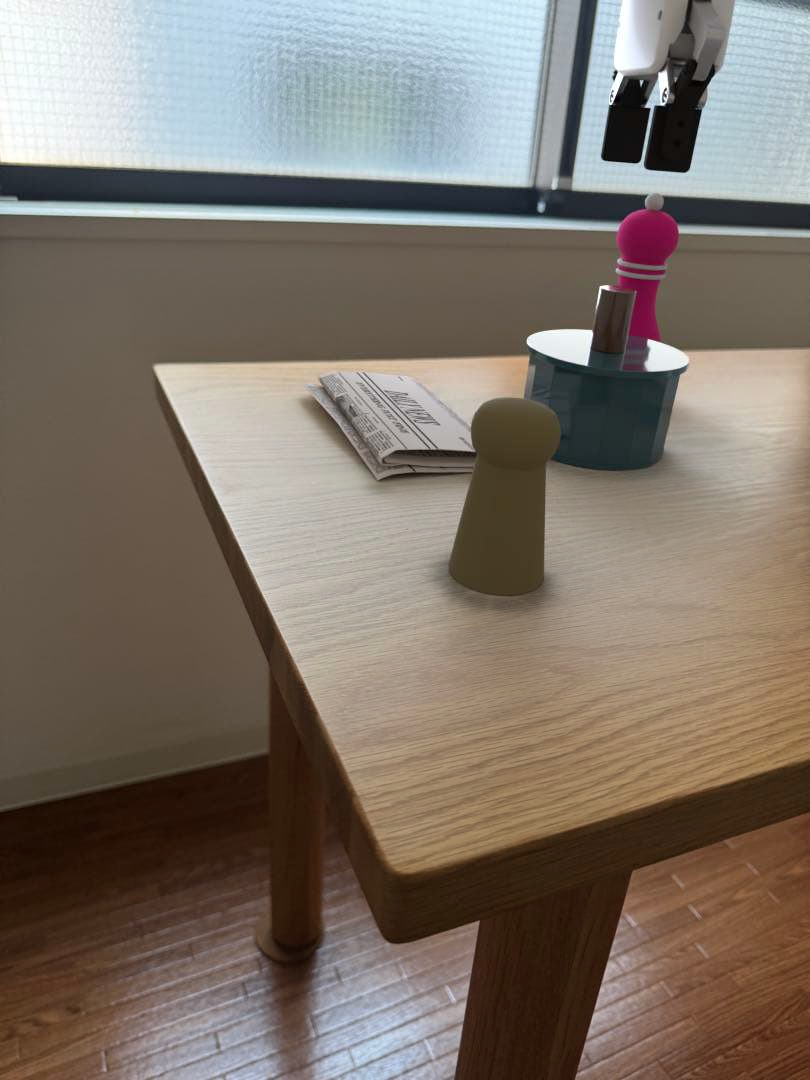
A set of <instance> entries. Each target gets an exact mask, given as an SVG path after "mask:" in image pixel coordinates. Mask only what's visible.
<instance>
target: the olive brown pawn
mask: <svg viewBox="0 0 810 1080" xmlns="http://www.w3.org/2000/svg"><path fill="white" fill-rule="evenodd" d="M470 427H471V440H472V446H473V448H474V450H475V451H476V453H477V457H476V461H475V465H474V469H473V472H471V477H470V480H469V484H468V488H467V492H466V495H465V500H464V503H463V507H462V511H461V514H460V519H459V522H458V527H457V529H456V534H455V536H454V542H453V546H452V549H451V552H450V557H449V560H448V572H449V573H450V575H451V576H452V578H453V579H455V581H457V582H458V583H459V584H460V585H462V586H464V587H467V588H469V589H472V590H474V591H475V592H480V593H484V594H488V595H496V596H517V595H518V596H519V595H523V594H527V593H530V592H533V591H535V590H536V589H538V588H539V587H541V585H542V583H543V581H544V579H545V545H546V544H545V543H546V542H545V541H546V539H545V538H546V534H545V533H546V499H547V498H546V493H547V491H546V490H547V463H548V462H549V461H550V460H552V459H551V458H552V457H553V455H554V454H555V452H556V449H557V447H558V445H559V442H560V436H561V429H560V423H559V420H558V418H557V416H556V413H555V412H554V411H553V410H551V409H550V408H549V407H547V406H546V405H544V404H542V403H539V402H536V401H533V400H528V399H524V398H522V397H497V398H493V399H489V400H487V401H485V402H483V403H482V404H481V405H479V407H478V408H477V410H476V411H475V412H474V414H473V417H472V419H471V423H470Z"/></svg>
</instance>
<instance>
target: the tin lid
mask: <svg viewBox="0 0 810 1080" xmlns="http://www.w3.org/2000/svg"><path fill="white" fill-rule="evenodd" d="M597 294H598V296H597V301H596V306H595V312H594V318H593V324H592V329H578V328H577V329H573V328H565V329H564V328H563V329H549V330H543V331H539V332H535V333H533V334H531V335H529V336H528V337H527V339H526V341H525V342H526V344H525V349H526V351H527V352H528V353H529V355H530V354H531V355H533V356H534V357H536V358H538V359H540V360H542V361H544V362H547V363H549V364H552V365H555V366H558V367H562V368H565V369H569V370H573V371H578V372H583V373H588V374H594V375H600V376H608V377H617V378H630V379H657V378H667V377H673V376H677V375H680V376H681V375H683V374H684V373H686V372H687V371H688V370H689V368H690V367H689V366H690V362H691V360H690V357H689V356H688V355H687V354H686V353H684V352H683V351H682V350H680V349H678V348H676V347H673V346H672V345H669V344H665V343H662V342H661V343H660V342H657V341H653V340H649V339H645V338H641V337H636V336H632V335H628V333H629V328H630V323H631V318H632V312H633V307H634V302H635V297H636V290H634V289H632V288H628V287H623V286H618V285H612V284H607V285H600V286H599V289H598V293H597Z"/></svg>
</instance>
